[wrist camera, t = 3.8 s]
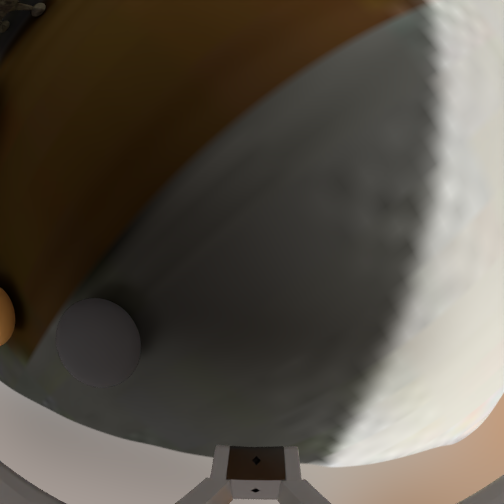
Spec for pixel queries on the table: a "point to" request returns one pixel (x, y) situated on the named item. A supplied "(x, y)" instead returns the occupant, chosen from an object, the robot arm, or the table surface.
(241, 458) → the robot arm
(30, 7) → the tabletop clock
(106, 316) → the dark gray ball
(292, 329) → the table surface
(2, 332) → the orange ball
